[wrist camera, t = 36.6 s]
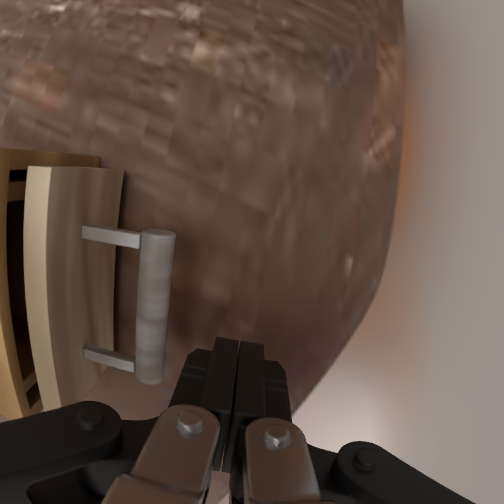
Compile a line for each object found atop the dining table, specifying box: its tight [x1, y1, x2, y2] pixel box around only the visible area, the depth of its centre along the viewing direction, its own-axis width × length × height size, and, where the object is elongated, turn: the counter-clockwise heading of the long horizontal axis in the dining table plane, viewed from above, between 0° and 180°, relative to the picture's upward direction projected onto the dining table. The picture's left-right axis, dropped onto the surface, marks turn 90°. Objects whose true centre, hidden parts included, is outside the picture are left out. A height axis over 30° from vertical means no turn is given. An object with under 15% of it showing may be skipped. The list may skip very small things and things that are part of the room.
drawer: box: [6, 166, 176, 412], centre depth 14 cm, size 18×11×7 cm, turn 80°
